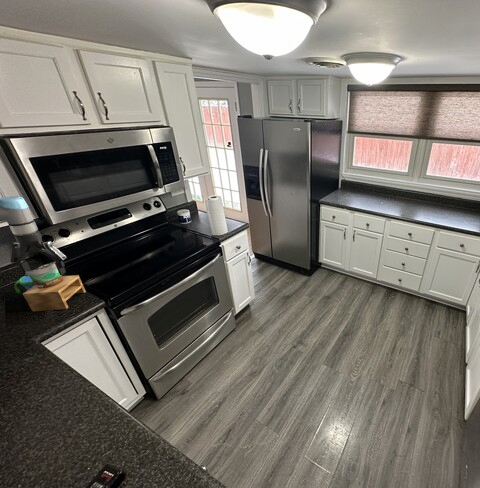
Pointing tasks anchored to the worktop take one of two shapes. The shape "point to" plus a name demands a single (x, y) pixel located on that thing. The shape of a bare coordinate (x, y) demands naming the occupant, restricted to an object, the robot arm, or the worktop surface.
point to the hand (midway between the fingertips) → (46, 274)
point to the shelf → (54, 294)
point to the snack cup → (25, 283)
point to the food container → (45, 275)
